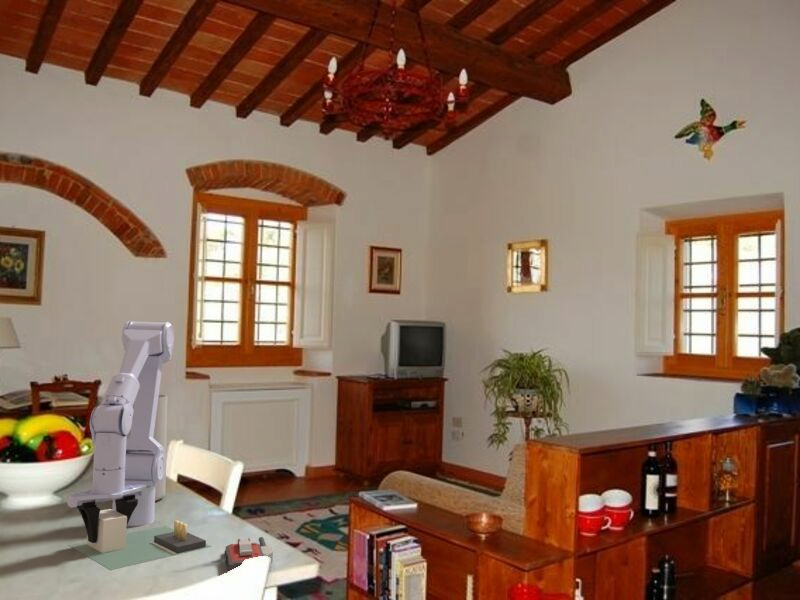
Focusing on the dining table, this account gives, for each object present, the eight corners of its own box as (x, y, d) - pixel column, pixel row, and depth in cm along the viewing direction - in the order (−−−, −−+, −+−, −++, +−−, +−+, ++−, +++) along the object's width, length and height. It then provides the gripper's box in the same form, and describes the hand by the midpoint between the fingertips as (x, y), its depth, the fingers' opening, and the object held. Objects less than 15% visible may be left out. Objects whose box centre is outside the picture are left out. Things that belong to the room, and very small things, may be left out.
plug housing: (86, 544, 138) (87, 512, 139) (109, 539, 142) (110, 508, 142) (102, 553, 134) (103, 520, 134) (125, 548, 137) (127, 516, 137)
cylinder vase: (151, 505, 170) (153, 399, 171) (101, 503, 171) (103, 398, 172) (173, 493, 182) (176, 394, 183) (127, 491, 184) (129, 393, 185)
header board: (68, 550, 138) (69, 523, 138) (165, 530, 152) (166, 505, 152) (110, 575, 125) (111, 545, 125) (211, 551, 140) (212, 524, 140)
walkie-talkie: (279, 580, 127) (266, 545, 146) (280, 554, 127) (266, 523, 146) (228, 583, 124) (221, 547, 143) (228, 558, 124) (222, 525, 143)
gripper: (79, 476, 130) (76, 551, 130) (154, 466, 141) (152, 536, 140) (64, 469, 135) (61, 542, 135) (137, 460, 145) (135, 527, 145)
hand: (106, 538), depth 138 cm, fingers open, 5 cm apart
